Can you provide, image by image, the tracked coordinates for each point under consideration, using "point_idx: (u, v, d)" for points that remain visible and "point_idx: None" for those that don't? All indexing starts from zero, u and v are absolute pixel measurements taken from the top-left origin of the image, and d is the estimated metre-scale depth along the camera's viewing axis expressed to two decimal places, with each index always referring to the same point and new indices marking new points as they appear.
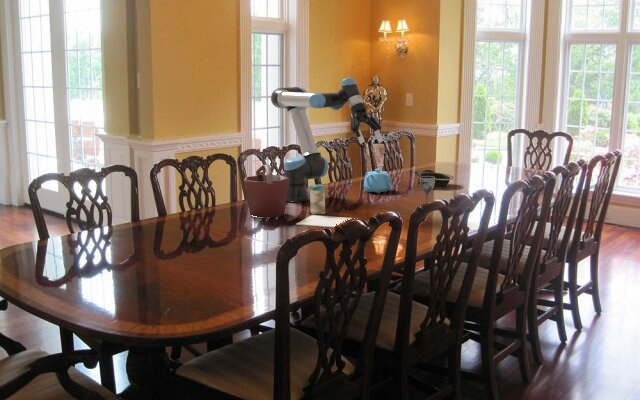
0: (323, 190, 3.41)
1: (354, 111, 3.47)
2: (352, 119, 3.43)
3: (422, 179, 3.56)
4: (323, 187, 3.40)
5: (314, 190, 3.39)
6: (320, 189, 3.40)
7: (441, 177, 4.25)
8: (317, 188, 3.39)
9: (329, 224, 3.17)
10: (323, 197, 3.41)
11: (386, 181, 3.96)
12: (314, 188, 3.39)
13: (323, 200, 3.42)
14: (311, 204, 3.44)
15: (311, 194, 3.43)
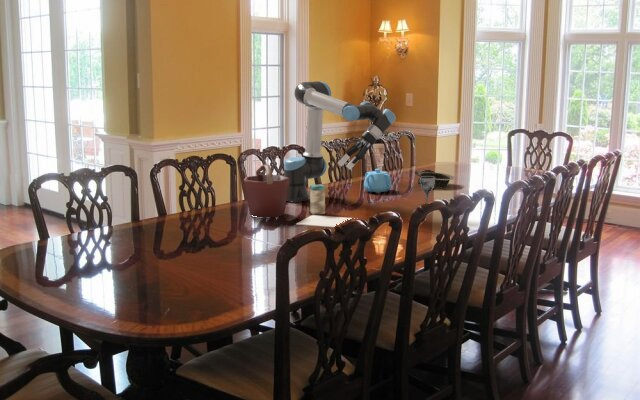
0: (323, 190, 3.41)
1: (369, 141, 3.42)
2: (366, 149, 3.38)
3: (422, 179, 3.56)
4: (323, 187, 3.40)
5: (314, 190, 3.39)
6: (320, 189, 3.40)
7: (441, 177, 4.25)
8: (317, 188, 3.39)
9: (329, 224, 3.17)
10: (323, 197, 3.41)
11: (386, 181, 3.96)
12: (314, 188, 3.39)
13: (323, 200, 3.42)
14: (311, 204, 3.44)
15: (311, 194, 3.43)
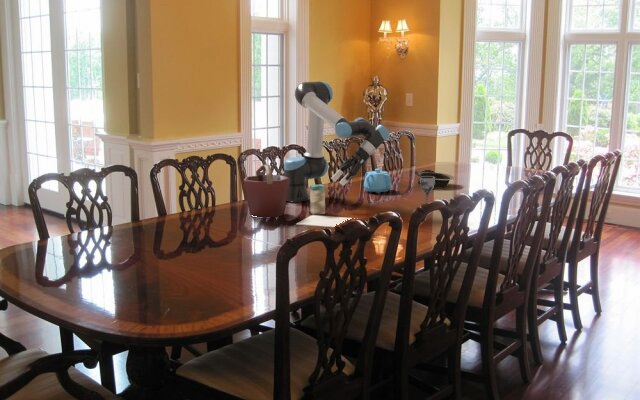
0: (323, 190, 3.41)
1: (363, 157, 3.42)
2: (359, 165, 3.38)
3: (422, 179, 3.56)
4: (323, 187, 3.40)
5: (314, 190, 3.39)
6: (320, 189, 3.40)
7: (441, 177, 4.25)
8: (317, 188, 3.39)
9: (329, 224, 3.17)
10: (323, 197, 3.41)
11: (386, 181, 3.96)
12: (314, 188, 3.39)
13: (323, 200, 3.42)
14: (311, 204, 3.44)
15: (311, 194, 3.43)
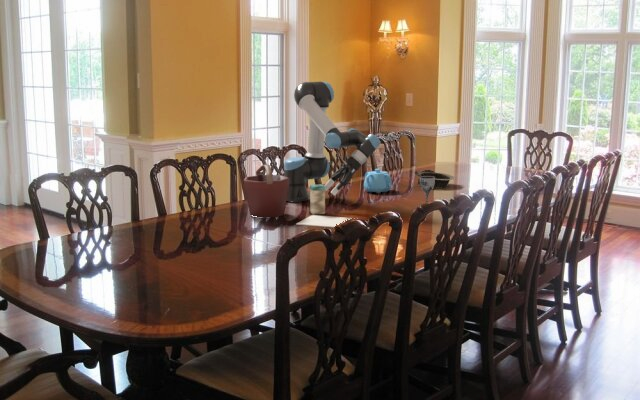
0: (323, 190, 3.41)
1: (354, 166, 3.41)
2: (350, 174, 3.37)
3: (422, 179, 3.56)
4: (323, 187, 3.40)
5: (314, 190, 3.39)
6: (320, 189, 3.40)
7: (441, 177, 4.25)
8: (317, 188, 3.39)
9: (329, 224, 3.17)
10: (323, 197, 3.41)
11: (386, 181, 3.96)
12: (314, 188, 3.39)
13: (323, 200, 3.42)
14: (311, 204, 3.44)
15: (311, 194, 3.43)
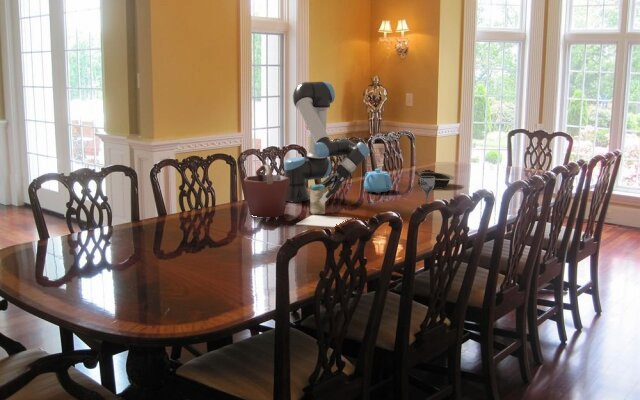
0: (323, 190, 3.41)
1: (343, 174, 3.41)
2: (339, 183, 3.37)
3: (422, 179, 3.56)
4: (323, 187, 3.40)
5: (314, 190, 3.39)
6: (320, 189, 3.40)
7: (441, 177, 4.25)
8: (317, 188, 3.39)
9: (329, 224, 3.17)
10: None
11: (386, 181, 3.96)
12: (314, 188, 3.39)
13: None
14: (311, 204, 3.44)
15: (311, 194, 3.43)
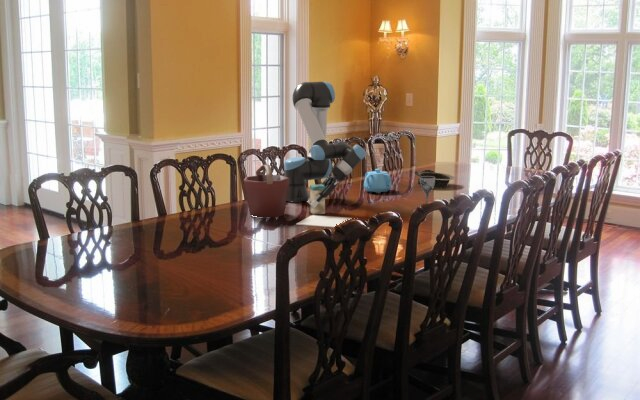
0: None
1: (339, 177, 3.41)
2: (332, 187, 3.38)
3: (422, 179, 3.56)
4: (323, 187, 3.40)
5: (314, 190, 3.39)
6: (320, 189, 3.40)
7: (441, 177, 4.25)
8: (317, 188, 3.39)
9: (329, 224, 3.17)
10: None
11: (386, 181, 3.96)
12: (314, 188, 3.39)
13: (323, 200, 3.42)
14: None
15: (311, 194, 3.43)
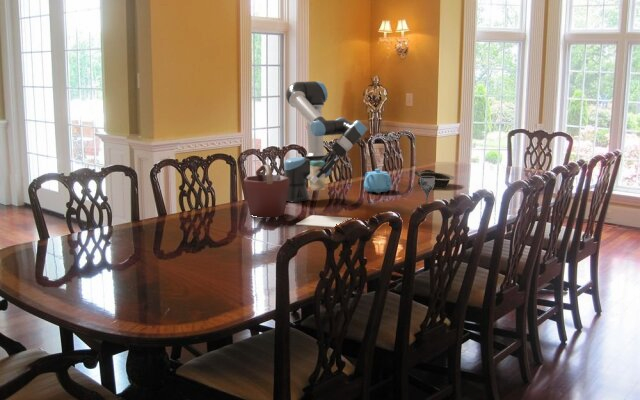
0: None
1: (339, 152, 3.38)
2: (332, 163, 3.36)
3: (422, 179, 3.56)
4: (323, 163, 3.38)
5: (314, 166, 3.37)
6: (320, 165, 3.38)
7: (441, 177, 4.25)
8: (317, 164, 3.37)
9: (329, 224, 3.17)
10: None
11: (386, 181, 3.96)
12: (314, 164, 3.37)
13: (323, 176, 3.39)
14: None
15: (311, 170, 3.40)
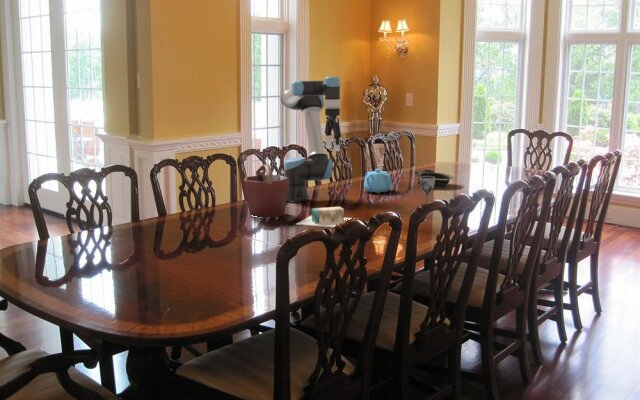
0: (319, 212, 3.19)
1: (334, 115, 3.42)
2: (337, 125, 3.39)
3: (422, 179, 3.56)
4: (316, 212, 3.18)
5: (319, 221, 3.20)
6: (318, 215, 3.19)
7: (441, 177, 4.25)
8: (317, 218, 3.19)
9: (329, 224, 3.17)
10: (326, 211, 3.20)
11: (386, 181, 3.96)
12: (317, 222, 3.19)
13: (329, 211, 3.20)
14: None
15: None
